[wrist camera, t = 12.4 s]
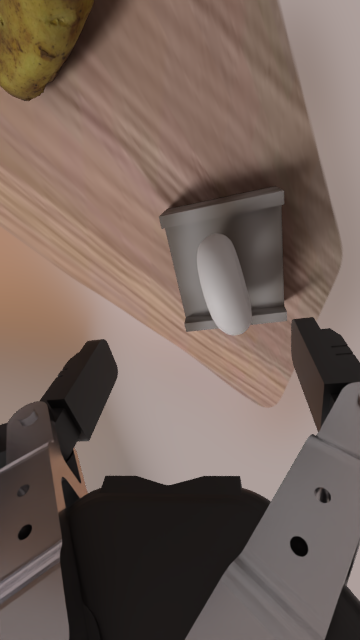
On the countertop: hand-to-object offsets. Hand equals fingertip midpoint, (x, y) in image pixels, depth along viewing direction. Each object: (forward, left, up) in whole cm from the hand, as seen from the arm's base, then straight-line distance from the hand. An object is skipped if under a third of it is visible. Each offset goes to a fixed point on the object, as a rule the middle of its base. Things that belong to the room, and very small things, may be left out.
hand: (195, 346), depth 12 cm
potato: (-11, +20, -24) cm, 33 cm away
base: (+1, -4, -23) cm, 24 cm away
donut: (+1, -4, -21) cm, 21 cm away
